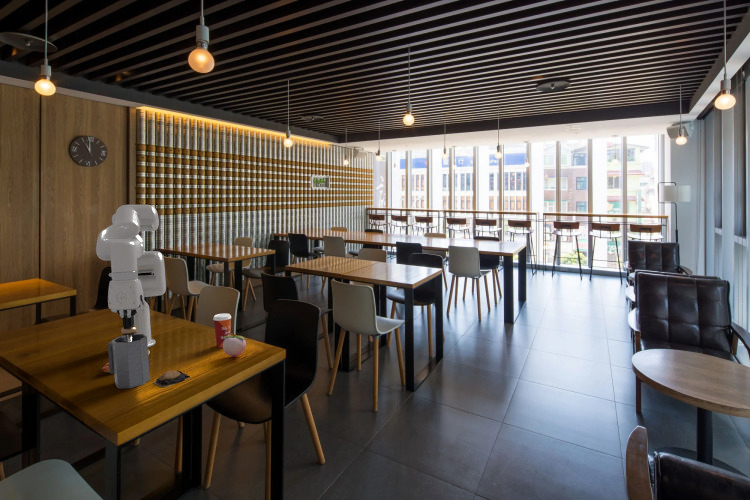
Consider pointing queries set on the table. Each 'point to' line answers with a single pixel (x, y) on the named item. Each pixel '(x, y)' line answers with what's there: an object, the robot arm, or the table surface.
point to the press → (129, 361)
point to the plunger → (129, 332)
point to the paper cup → (222, 327)
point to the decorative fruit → (234, 345)
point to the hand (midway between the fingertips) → (128, 327)
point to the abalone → (170, 378)
